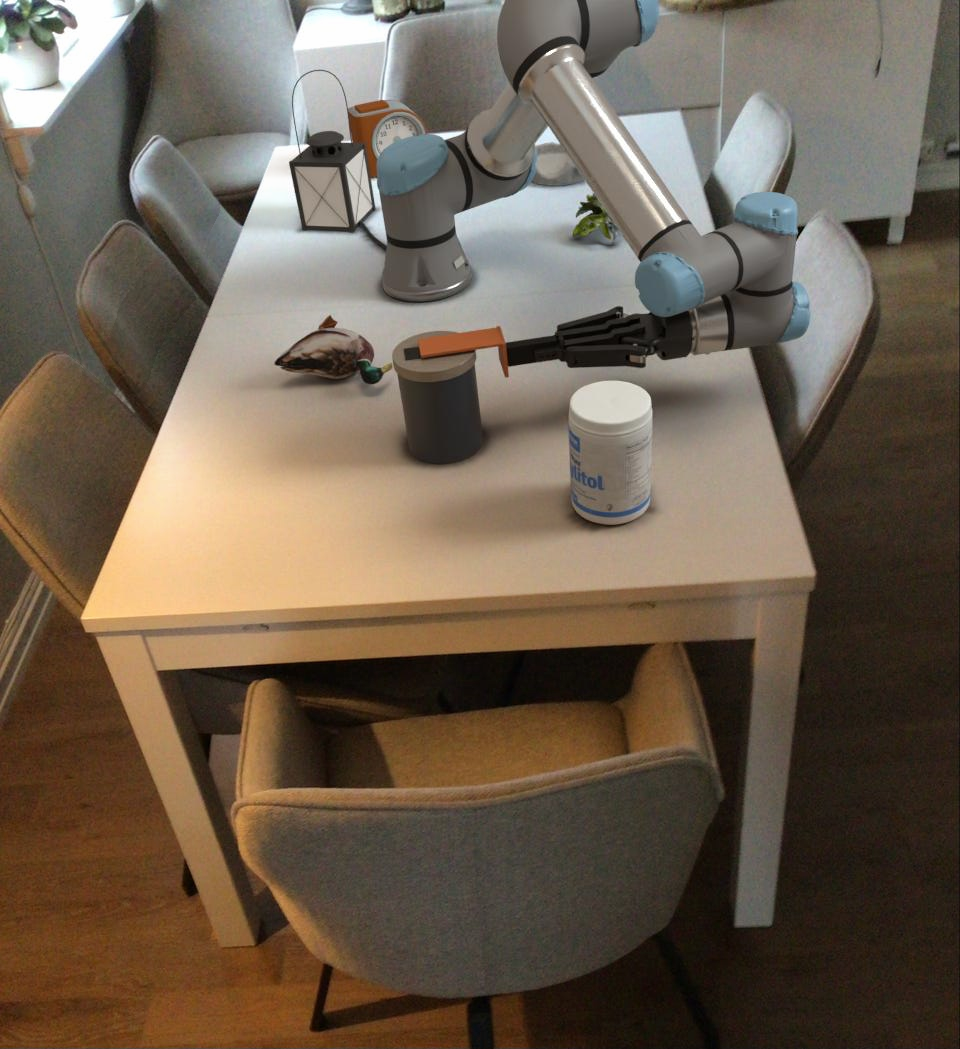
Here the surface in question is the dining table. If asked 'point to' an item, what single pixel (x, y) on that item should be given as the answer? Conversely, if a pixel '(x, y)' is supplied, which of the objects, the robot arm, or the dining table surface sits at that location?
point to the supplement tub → (610, 451)
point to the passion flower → (594, 219)
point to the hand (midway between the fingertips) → (506, 354)
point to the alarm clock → (382, 127)
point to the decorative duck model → (332, 354)
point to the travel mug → (439, 401)
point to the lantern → (332, 181)
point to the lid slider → (466, 344)
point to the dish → (555, 166)
